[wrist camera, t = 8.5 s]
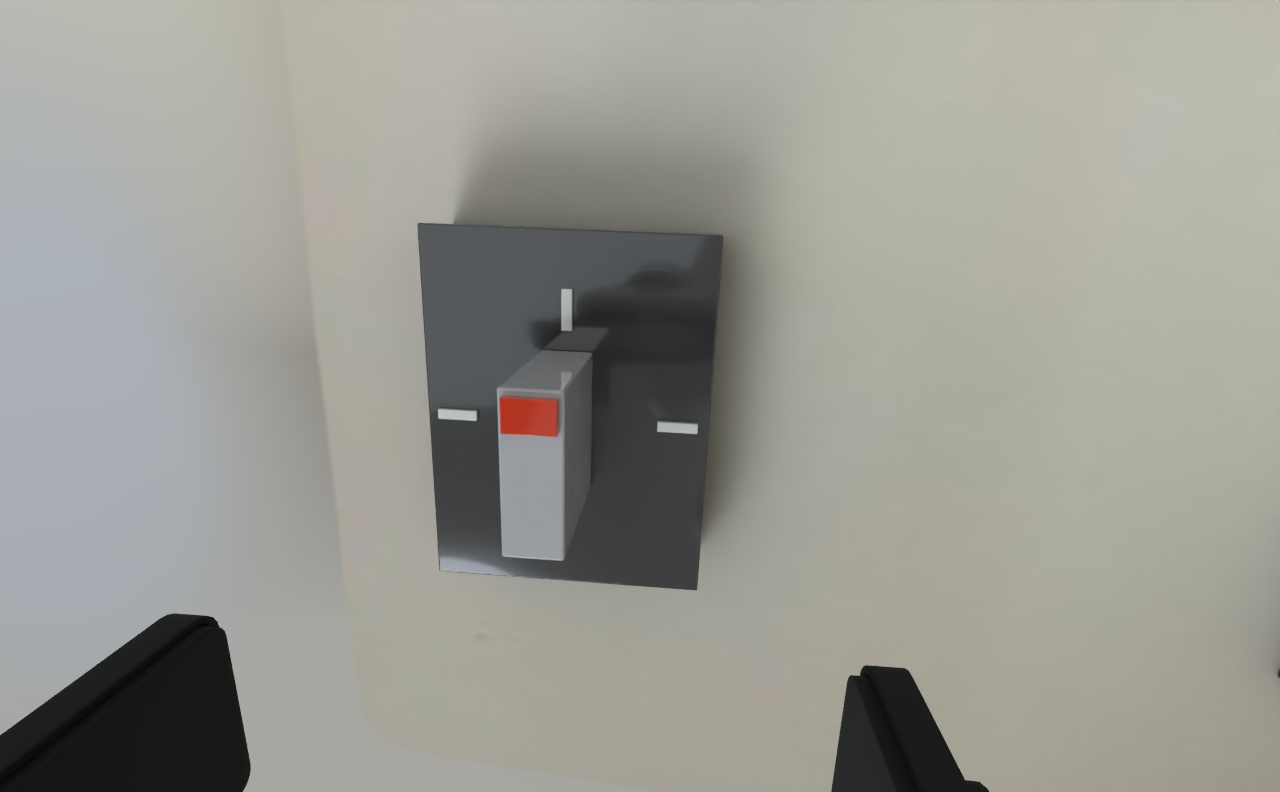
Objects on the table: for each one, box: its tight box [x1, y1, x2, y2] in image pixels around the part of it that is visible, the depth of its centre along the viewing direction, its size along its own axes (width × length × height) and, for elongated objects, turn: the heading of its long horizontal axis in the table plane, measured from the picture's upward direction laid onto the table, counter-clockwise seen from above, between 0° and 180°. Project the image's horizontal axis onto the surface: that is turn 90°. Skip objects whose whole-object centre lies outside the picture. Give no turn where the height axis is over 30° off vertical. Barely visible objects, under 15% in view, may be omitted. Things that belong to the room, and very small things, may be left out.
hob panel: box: [418, 223, 723, 590], centre depth 22 cm, size 13×10×3 cm
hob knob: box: [497, 350, 593, 561], centre depth 18 cm, size 5×2×5 cm, turn 178°
